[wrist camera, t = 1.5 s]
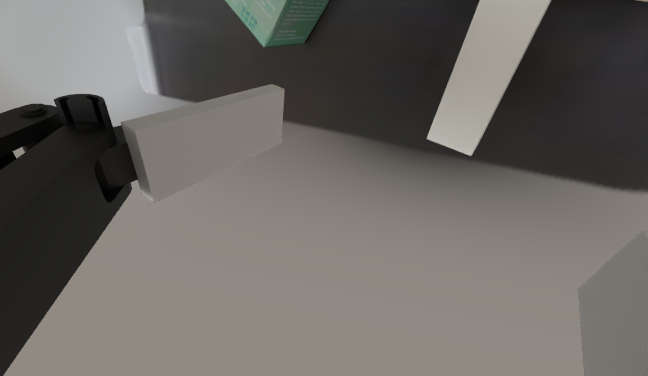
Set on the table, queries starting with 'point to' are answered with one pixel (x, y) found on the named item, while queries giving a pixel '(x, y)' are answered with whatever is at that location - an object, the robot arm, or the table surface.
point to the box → (279, 19)
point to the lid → (485, 70)
